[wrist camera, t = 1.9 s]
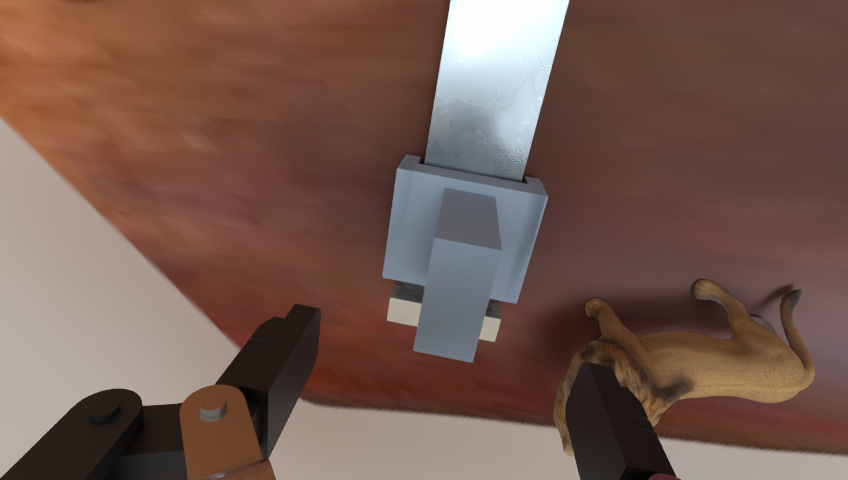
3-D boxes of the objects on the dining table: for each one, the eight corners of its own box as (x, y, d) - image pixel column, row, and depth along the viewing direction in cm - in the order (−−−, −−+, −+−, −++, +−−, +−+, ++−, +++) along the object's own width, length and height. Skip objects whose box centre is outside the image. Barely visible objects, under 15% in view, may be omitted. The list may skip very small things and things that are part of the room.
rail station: (717, -429, 15) (950, -886, 8) (508, 306, 27) (519, 400, 20) (486, -460, 15) (495, -929, 8) (383, 281, 28) (349, 365, 20)
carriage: (539, 178, 23) (574, 251, 15) (512, 276, 26) (529, 384, 17) (406, 153, 23) (368, 211, 15) (392, 253, 26) (352, 348, 18)
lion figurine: (549, 376, 29) (577, 504, 21) (526, 312, 27) (547, 424, 19) (797, 320, 26) (947, 449, 17) (789, 242, 24) (953, 344, 16)
